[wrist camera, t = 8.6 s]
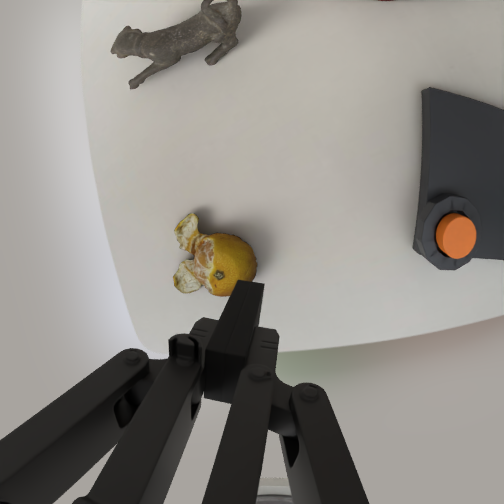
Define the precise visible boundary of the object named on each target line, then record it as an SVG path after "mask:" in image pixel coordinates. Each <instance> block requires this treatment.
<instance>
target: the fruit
mask: <svg viewBox="0 0 504 504" xmlns="http://www.w3.org/2000/svg"><path fill="white" fill-rule="evenodd" d="M198 220H199V218H198V217H197V215H195V214H189V215H188V216H187V217H186V218H185V219H184V220H182V221H181V222H180V223H179V224H178V225H177V227H176V228H175V230H174V231H175V235H176V236H177V241H178V242H179V243H180V247H179V248H180V249H183V250H187V251H188V252H189V253H191V254H193V255H194V259H193V260H188V259H186V260H185V261H183V262H182V263H181V264H180V265H179V269H178V271H177V273H176V274H175V275H174V276H173V279H174V286H175V287H176V288H177V289H178V290H179V291H180V292H182V293H191V292H194V291H196V290H199V288H200V286H201V285H202V284H204V286H205V288H206V289H208V291H209V292H210V293H211V294H212V295H216V296H221V297H223V296H230V295H231V293H232V291H233V289H234V287H235V285H236V282H237V280H244V281H250V282H252V281H253V279H254V278H255V276H256V271H257V270H256V269H257V262H256V257H255V255H254V252H253V249H252V248H251V246H249V245H248V244H247V243H246V242H243V241H242V240H241V239H240V238H239V237H237V236H235V235H229V234H221V233H214V234H211V235H206V234H201V233H199V231H198V229H197V223H198Z"/></svg>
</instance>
